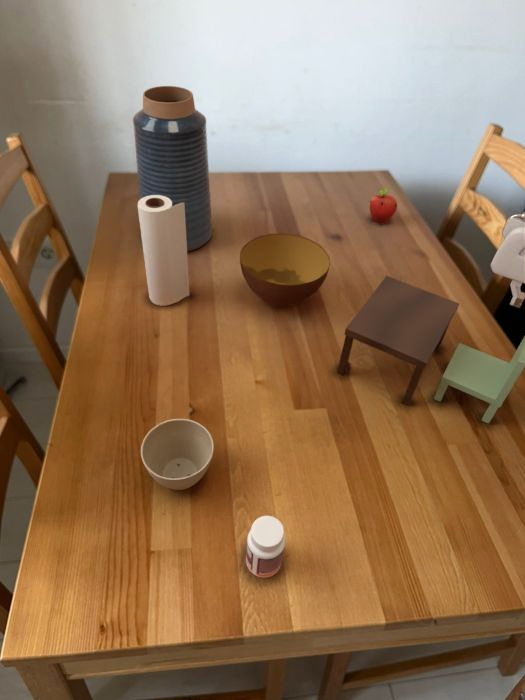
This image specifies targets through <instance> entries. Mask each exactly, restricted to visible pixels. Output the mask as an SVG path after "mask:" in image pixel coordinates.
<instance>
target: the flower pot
mask: <svg viewBox="0 0 525 700" xmlns="http://www.w3.org/2000/svg"><path fill="white" fill-rule="evenodd" d="M214 450H215V444H214V440H213V437H212V434H211V433H210V431H209V430H208V429H207V428H206V427H205V426H203V425H202V424H201V423H199V422H197V421H194V420H192V419H188V418H171V419H168V420H165V421H162V422H160V423H158V424H157V425H155V426H154V427H152V428H151V429H150V430H149V431H148V432H147V434H146V435H145V437H144V438H143V440H142V442H141V446H140V458H141V460H142V464H143V466H144V468H145V469H146V471H147V472H148V474H149V475H150V476H151V478H152V479H154V481H155V482H156V483H158V484H159V485H160V486H162V487H164V488H167V489H170V490H173V491H182V490H187V489H190V488H191V487H192V486H194V485H196V484H197V483H198V482H199V481H200V480H201V479H202V478H203V477H204V476H205V475H206V472H207V471H208V469H209V467H210V465H211V462H212V459H213V456H214Z"/></svg>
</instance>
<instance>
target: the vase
mask: <svg viewBox="0 0 525 700" xmlns="http://www.w3.org/2000/svg"><path fill="white" fill-rule="evenodd" d="M132 123H133V132H134V134H133V135H134V144H135V145H134V147H135V157H136V168H137V180H138V192H139V193H138V197H139V200H140V199H141V198H143V197H146V196H150V195H161V196H165V197H167V198H169V199H170V200H171V201H172V207H174V206H175V205H177V204H180V203H184V205H185V223H186V241H187V252H191V251H194V250H197V249H199V248H201V247H202V246H204V245H206V243H207V242H208V241H209V240H210V239H211V237H212V234H213V222H212V221H213V218H212V217H213V216H212V199H211V188H210V171H209V152H208V151H209V149H208V138H207V137H208V134H207V118H206V116H205V114H203V113H202V112H201V111H200V110H198V109H196V105H195V99H194V93H193V92H192V91H191V90H189V89H188V88H185V87H181V86H175V85H160V86H154V87H150V88H147V89H146V90H145V91H143V94H142V108H141V109H140V110H139V111H137V112H136V113H135V114H134V115H133V117H132Z"/></svg>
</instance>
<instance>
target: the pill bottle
mask: <svg viewBox="0 0 525 700" xmlns="http://www.w3.org/2000/svg"><path fill="white" fill-rule="evenodd" d="M285 547H286V536H285V528H284V525H283V524H282V522H281V521H280V519H278V518H277V517H275V516H272V515H262V516H259V517H257V518H256V519H255V520H254V521H253V523H252V525H251V528H250V530H249V531H248V534H247V538H246V553H245V563H246V566H247V568H248V570H249V572H250V573H252V574H253V575H255V576H256V577H258V578H263V579H264V578H270V577H272V576H275V575H276V574H277V573H278V572H279V570H280V569H281V567H282V561H283V558H284V551H285Z"/></svg>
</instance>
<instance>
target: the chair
mask: <svg viewBox="0 0 525 700" xmlns="http://www.w3.org/2000/svg"><path fill="white" fill-rule="evenodd" d="M524 369H525V335H524V336H523V338H522V339H521V342H520V344H519V345H518V347H517V348H516V351H515V352H514V354H513V356H512V357H511V359H510V361H509V362H508V361H505V360H503V359H500V358H497V357H495V356H493V355H490V354H488V353H485V352H483V351H481V350H478V349H476V348H473V347H471V346H469V345H467V344H463V343H462V342H458V344H457V347H456V348H455V350H454V352H453V354H452V356H451V358H450V359H449V362H448V364H447V366H446V368H445V370H444V372H443V374H442V376H441V378H440V383H439V386H438V387H437V391H436V393H435V394H434V397H433V400H434V401H437V402H441V401H442V399H443V398H444V395H445V393H446V390H447V389H448V386H450V387H452V388H454V389H457V390H459V391H461V392H463V393H466V394H468V395H470V396H472V397H475V398H476V399H479V400H481V401H484V402H486V403H488V404H489V405H488V407H487V409H486V411H485V412H484V415H483V416H482V418H481V421H482V422H484V423H485V424H488V425H489V424H490V423H491V420H492V419H493V418H494V416H495V415H496V413H497V410H498V409H499V408H501V407H502V405H503V404H504V402H505V401H506V398H508V395H509V394H510V392H511V391H512V389H513V387H514V386H515V384H516V382H517V381H518V379H519V377H520V375H521V374H522V373H523V370H524Z"/></svg>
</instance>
